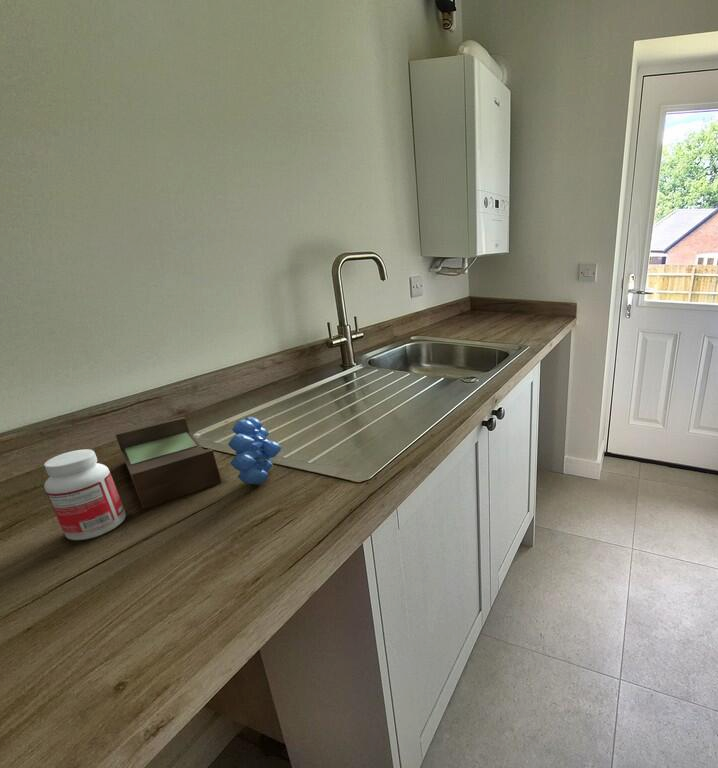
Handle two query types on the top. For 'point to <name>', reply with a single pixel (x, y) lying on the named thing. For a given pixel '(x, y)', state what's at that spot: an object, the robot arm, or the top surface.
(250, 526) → the top surface
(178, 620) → the top surface
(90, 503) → the pill bottle
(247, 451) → the grapes
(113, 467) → the top surface
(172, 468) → the brown two-tone box
